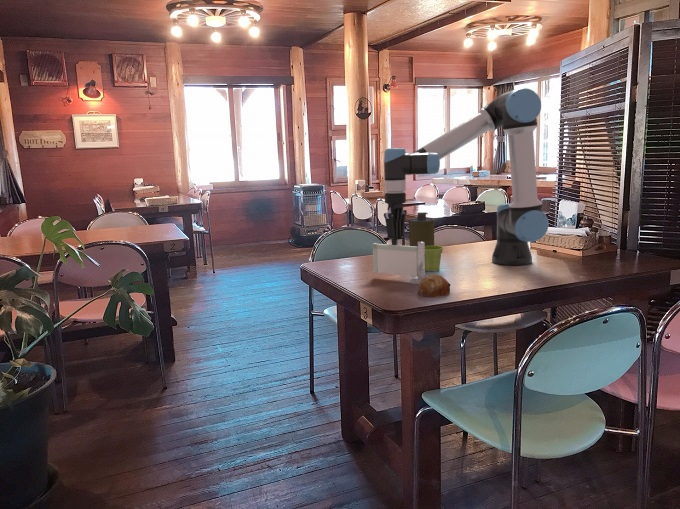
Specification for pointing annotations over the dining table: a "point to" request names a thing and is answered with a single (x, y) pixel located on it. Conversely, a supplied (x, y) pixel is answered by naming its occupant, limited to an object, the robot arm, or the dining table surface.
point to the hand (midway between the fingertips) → (396, 257)
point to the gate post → (420, 263)
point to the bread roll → (434, 286)
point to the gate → (395, 259)
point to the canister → (421, 230)
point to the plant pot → (432, 257)
